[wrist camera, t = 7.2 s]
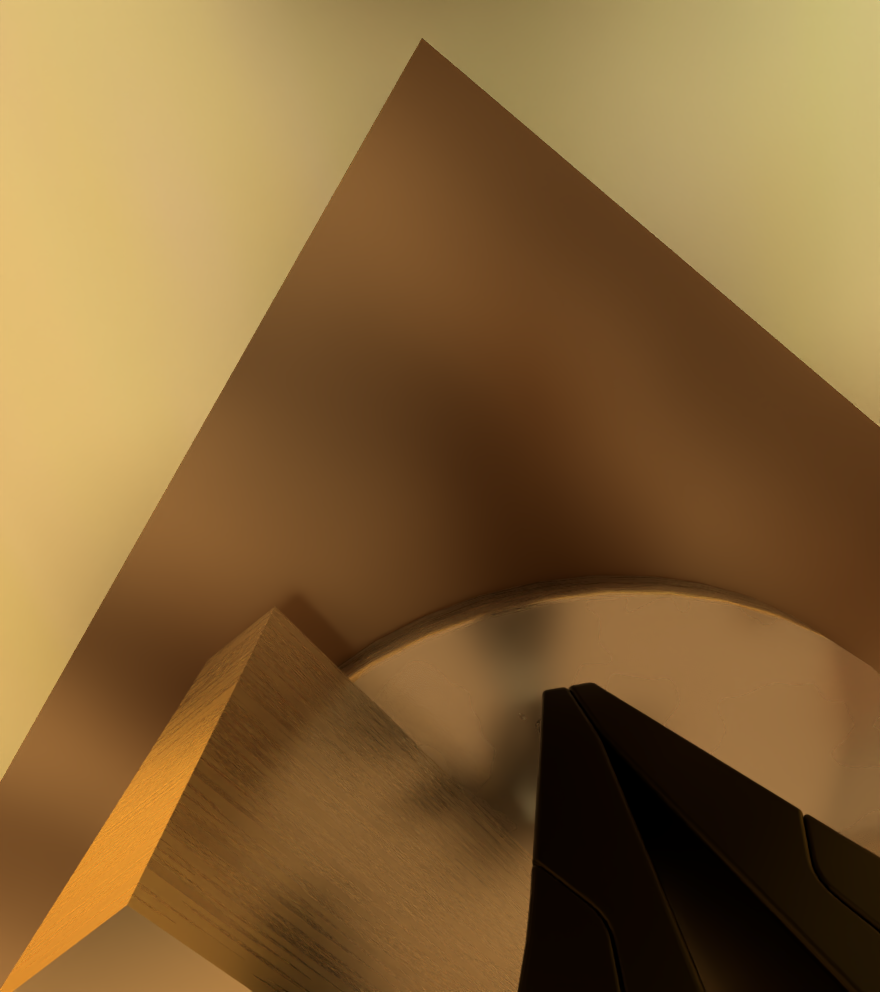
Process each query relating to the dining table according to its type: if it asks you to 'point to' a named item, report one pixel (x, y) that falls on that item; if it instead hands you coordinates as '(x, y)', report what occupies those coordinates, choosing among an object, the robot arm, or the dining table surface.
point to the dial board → (454, 452)
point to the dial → (426, 787)
